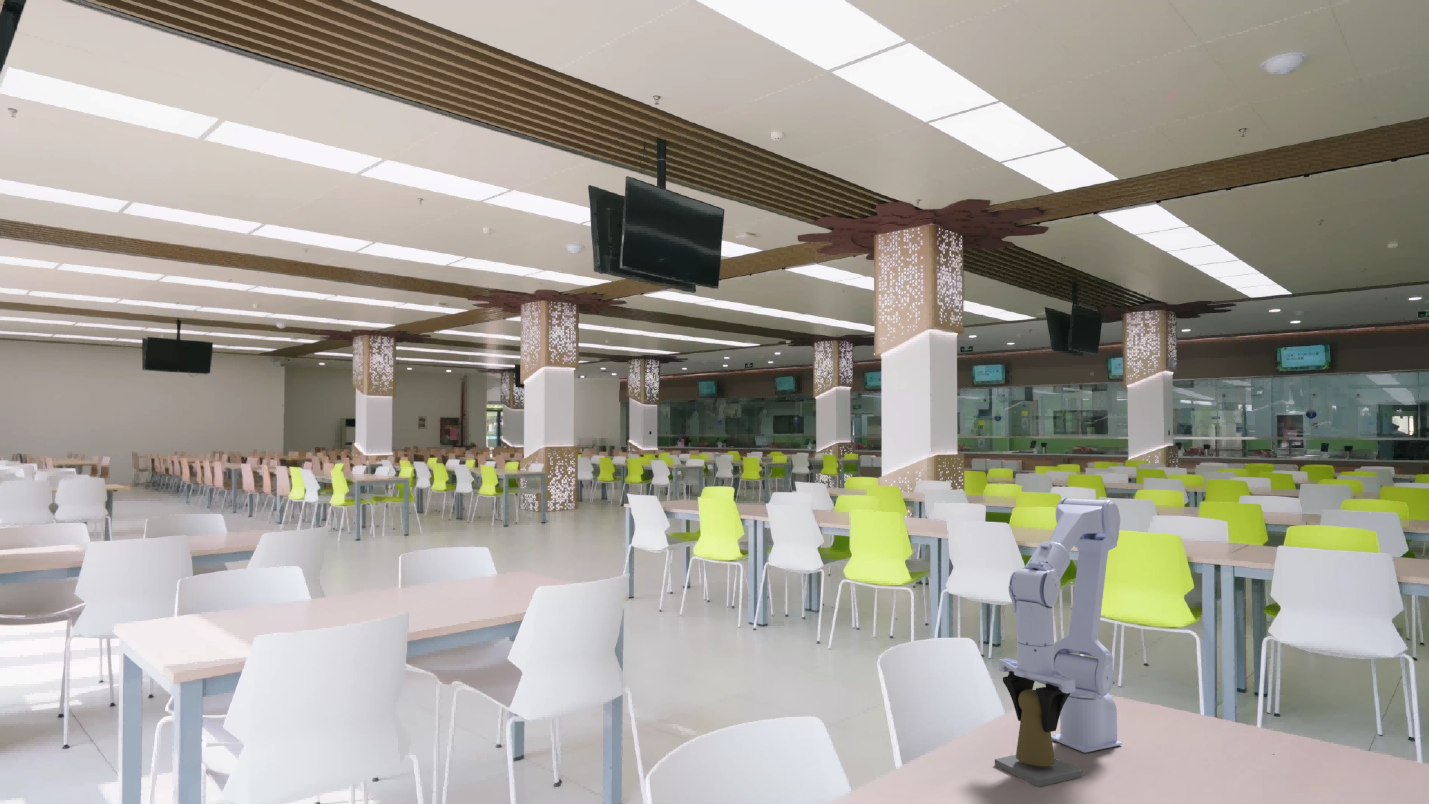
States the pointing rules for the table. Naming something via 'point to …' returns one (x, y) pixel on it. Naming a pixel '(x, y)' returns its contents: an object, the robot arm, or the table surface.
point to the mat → (1038, 771)
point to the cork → (1033, 733)
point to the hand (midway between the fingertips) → (1036, 725)
